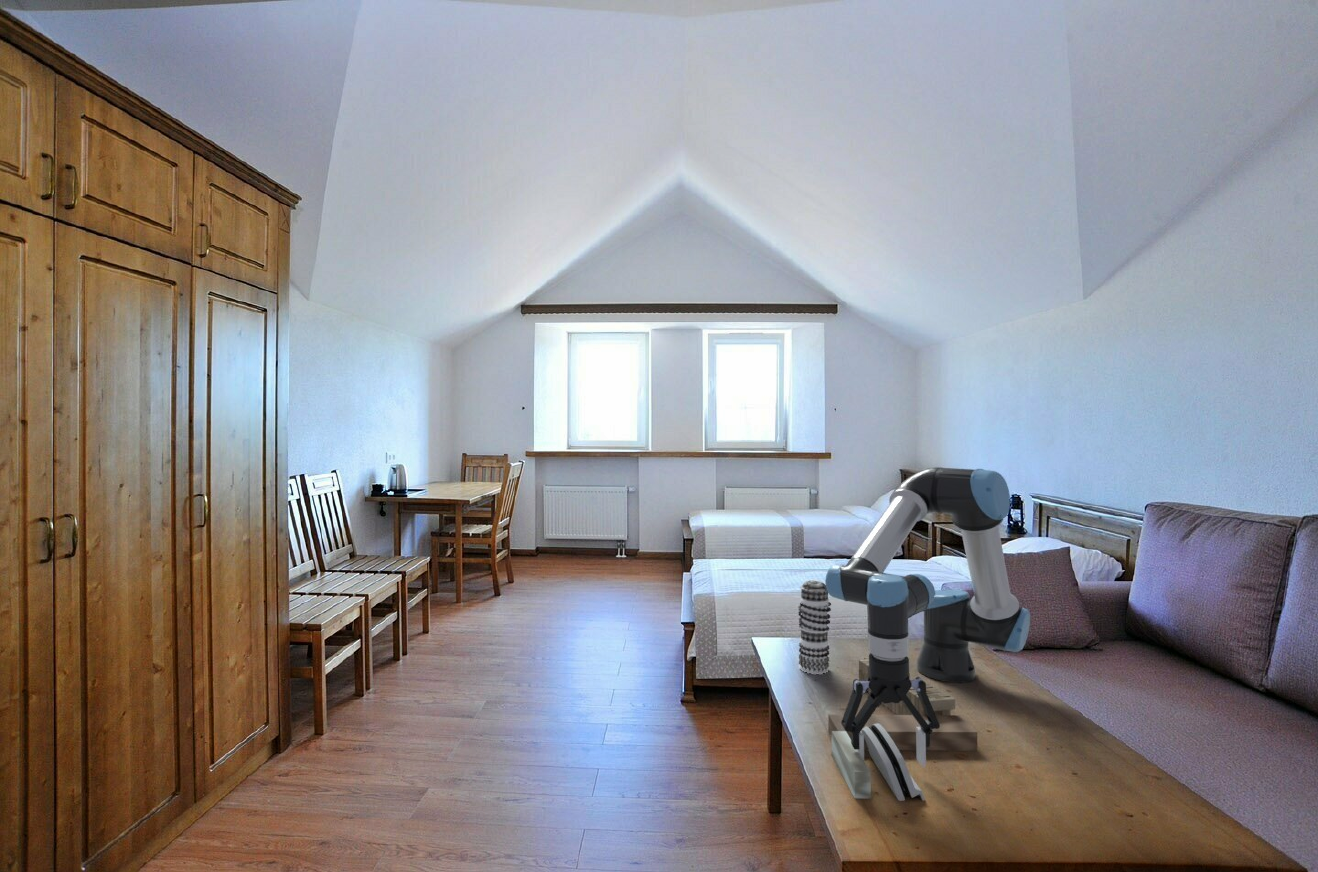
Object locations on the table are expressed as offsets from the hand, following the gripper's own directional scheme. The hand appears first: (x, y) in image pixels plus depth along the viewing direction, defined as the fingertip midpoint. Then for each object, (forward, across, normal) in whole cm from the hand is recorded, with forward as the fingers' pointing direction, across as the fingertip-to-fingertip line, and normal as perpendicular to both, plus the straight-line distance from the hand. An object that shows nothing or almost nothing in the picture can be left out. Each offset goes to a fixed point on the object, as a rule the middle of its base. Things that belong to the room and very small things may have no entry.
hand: (890, 763), depth 126 cm
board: (+3, +6, +5) cm, 9 cm away
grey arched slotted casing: (+3, 0, 0) cm, 3 cm away
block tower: (+4, +14, +32) cm, 35 cm away
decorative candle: (+3, -1, +56) cm, 57 cm away
